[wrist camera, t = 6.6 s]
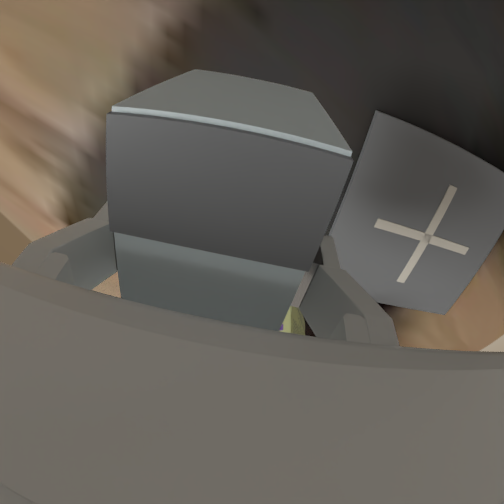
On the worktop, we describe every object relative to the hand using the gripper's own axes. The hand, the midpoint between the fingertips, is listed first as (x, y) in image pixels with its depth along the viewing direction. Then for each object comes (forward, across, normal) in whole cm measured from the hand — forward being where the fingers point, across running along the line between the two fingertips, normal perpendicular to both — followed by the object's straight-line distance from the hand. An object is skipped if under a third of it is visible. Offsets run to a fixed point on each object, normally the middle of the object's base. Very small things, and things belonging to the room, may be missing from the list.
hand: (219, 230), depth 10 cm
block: (+3, 0, 0) cm, 3 cm away
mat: (+12, -16, +4) cm, 20 cm away
